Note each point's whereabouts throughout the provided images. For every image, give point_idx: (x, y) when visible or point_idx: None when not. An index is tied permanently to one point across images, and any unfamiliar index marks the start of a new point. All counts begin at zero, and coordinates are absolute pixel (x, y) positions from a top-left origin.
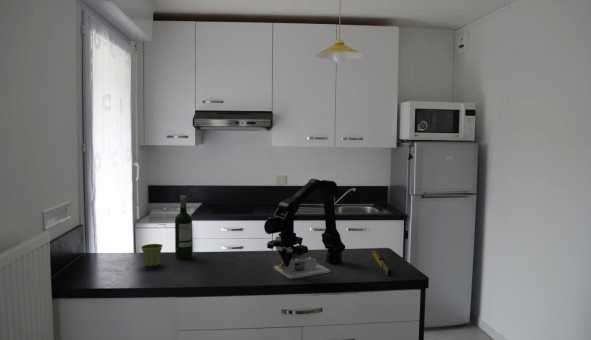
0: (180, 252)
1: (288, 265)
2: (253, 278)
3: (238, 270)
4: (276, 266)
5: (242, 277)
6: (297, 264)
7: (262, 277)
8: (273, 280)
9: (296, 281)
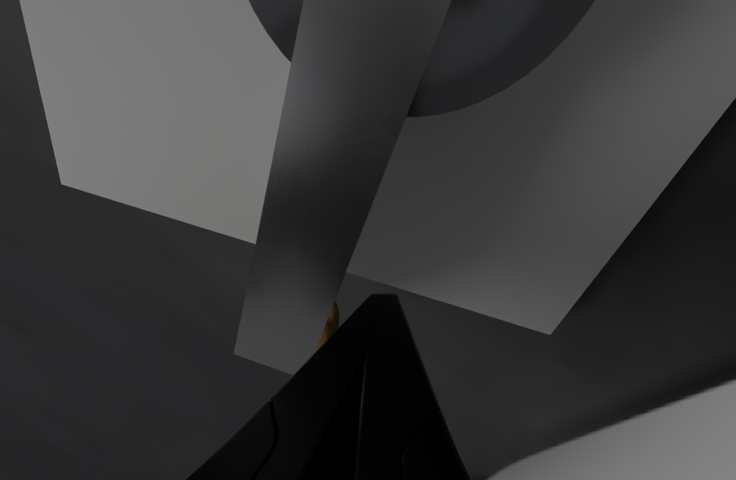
0: None
1: (402, 310)
2: None
3: (62, 398)
4: (83, 166)
5: None
6: (493, 92)
7: None
8: None
9: (666, 323)
